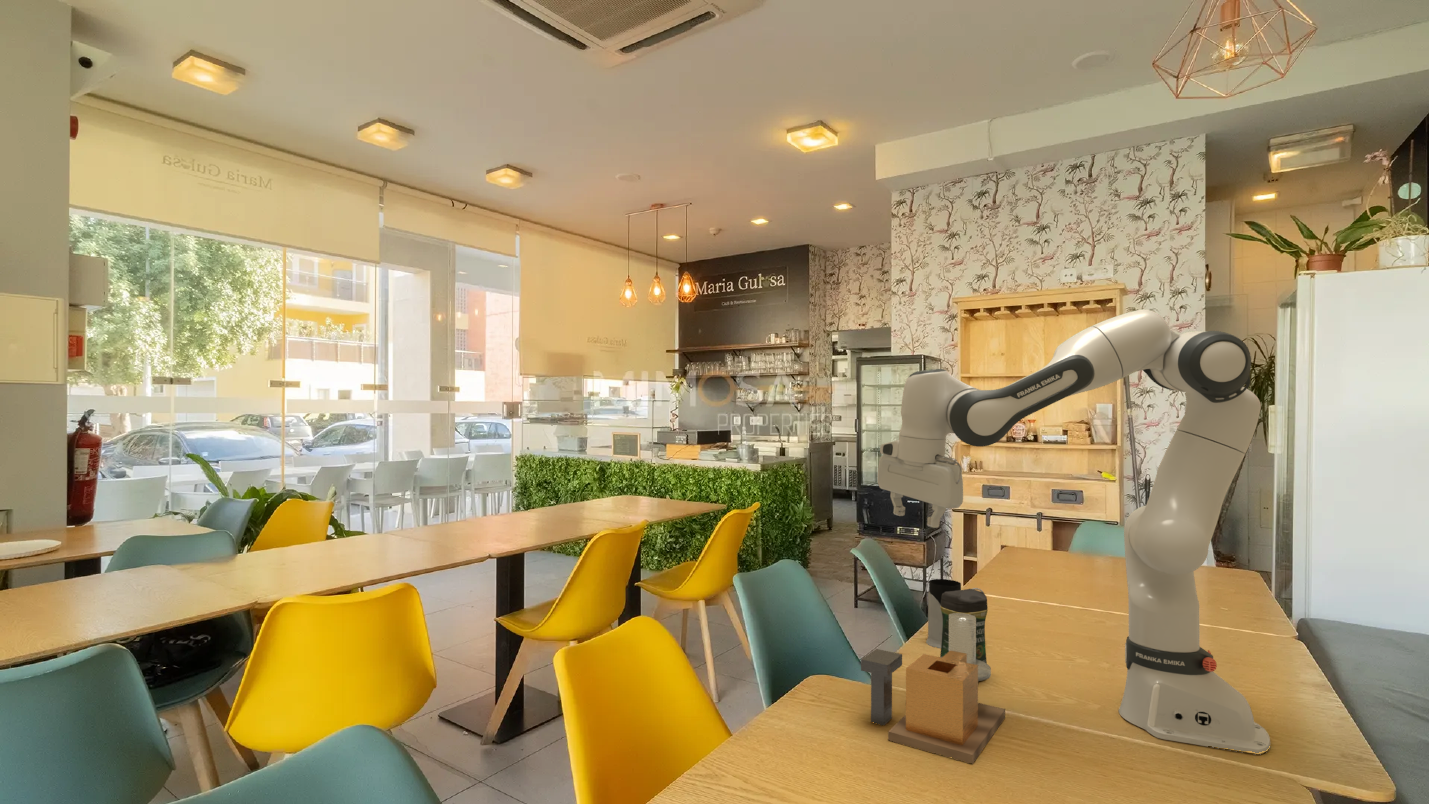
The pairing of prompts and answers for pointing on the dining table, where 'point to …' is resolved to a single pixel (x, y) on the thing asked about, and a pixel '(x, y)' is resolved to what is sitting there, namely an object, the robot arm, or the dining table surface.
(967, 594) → the coffee jar
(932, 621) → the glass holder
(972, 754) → the walnut base board
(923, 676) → the wooden slotted box
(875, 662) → the grey t-shaped block
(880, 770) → the dining table surface
